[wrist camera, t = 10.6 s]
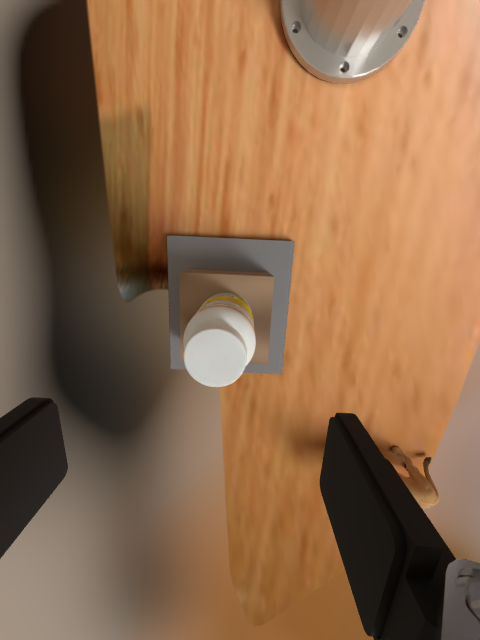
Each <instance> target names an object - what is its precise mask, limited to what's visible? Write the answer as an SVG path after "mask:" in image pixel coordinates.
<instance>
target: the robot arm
mask: <svg viewBox="0 0 480 640" xmlns="http://www.w3.org/2000/svg"><path fill="white" fill-rule="evenodd" d="M424 2H425V0H280V11H281V22H282V26H283V30H284V34H285V38H286V40H287V42H288V45H289V47H290V49H291V51H292V53H293V54H294V56H295V57H296V59H297V60H298V62H299V63H300V64H301V65H302V66H303V67H304V68H305V69H306V70H307V71H308V72H310V73H311V74H313V75H314V76H316V77H317V78H319V79H322V80H325V81H328V82H331V83H340V84H346V83H353V82H358V81H360V80H363V79H366V78H369V77H370V76H372V75H374V74H375V73H377V72H379V71H380V70H381V69H383V68H384V67H385V66H386V65H387V64H388V63H389V62H391V61H392V59H393V58H394V57H395V56H396V55H397V53H398V52H399V51H400V50H401V49H402V47H403V46H404V44H405V43H406V42H407V40H408V39H409V37H410V36H411V34H412V32H413V30H414V28H415V26H416V24H417V22H418V20H419V17H420V14H421V11H422V8H423V5H424ZM341 71H343V72H341ZM67 469H68V465H67V459H66V453H65V447H64V441H63V435H62V430H61V424H60V418H59V412H58V407H57V405H56V404H55V403H54V402H53V400H52V399H50V398H29V399H27V400H26V401H24V402H23V403H22V404H20V405H19V406H17V407H16V408H14V409H13V410H11V411H10V412H8V413H7V414H6V415H4V416H3V417H1V418H0V558H1V557H2V556H3V555H4V553H5V552H6V551H7V550H8V548H9V547H10V546H11V544H12V543H13V542H14V541H15V539H16V538H17V537H18V536H19V534H20V533H21V532H22V531H23V529H24V528H25V527H26V525H27V524H28V523H29V522H30V520H31V519H32V518H33V517H34V515H35V514H36V513H37V512H38V510H39V509H40V508H41V506H42V505H43V504H44V503H45V501H46V500H47V499H48V498H49V496H50V495H51V494H52V493H53V491H54V490H55V489H56V487H57V486H58V485H59V484H60V482H61V481H62V480H63V478H64V477H65V475H66V473H67ZM320 489H321V493H322V497H323V500H324V503H325V506H326V509H327V513H328V516H329V519H330V522H331V525H332V529H333V532H334V535H335V538H336V541H337V545H338V548H339V551H340V554H341V557H342V561H343V564H344V567H345V570H346V574H347V577H348V580H349V583H350V586H351V590H352V593H353V596H354V599H355V602H356V606H357V609H358V612H359V615H360V618H361V621H362V625H363V627H364V630H365V632H366V633H367V635H368V636H373V638H374V640H480V563H478V562H474V561H471V560H467V559H456V558H455V557H454V555H453V554H452V553H451V551H450V549H449V548H448V546H447V545H446V544H445V542H444V541H443V539H442V538H441V536H440V535H439V533H438V532H437V530H436V529H435V527H434V526H433V524H432V523H431V521H430V520H429V518H428V517H427V516H426V514H425V513H424V511H423V510H422V508H421V507H420V505H419V504H418V502H417V501H416V499H415V498H414V496H413V495H412V493H411V492H410V490H409V489H408V488H407V486H406V485H405V483H404V482H403V480H402V479H401V477H400V476H399V474H398V473H397V471H396V470H395V468H394V467H393V465H392V464H391V463H390V462H389V461H388V460H387V459H385V458H384V457H383V455H382V454H381V452H380V451H379V449H378V447H377V446H376V444H375V443H374V441H373V440H372V438H371V437H370V435H369V434H368V432H367V431H366V429H365V428H364V426H363V425H362V423H361V422H360V420H359V419H358V417H357V416H356V415H355V414H351V413H336V415H335V417H331V418H330V420H329V426H328V432H327V439H326V445H325V451H324V457H323V463H322V469H321V475H320Z"/></svg>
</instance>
